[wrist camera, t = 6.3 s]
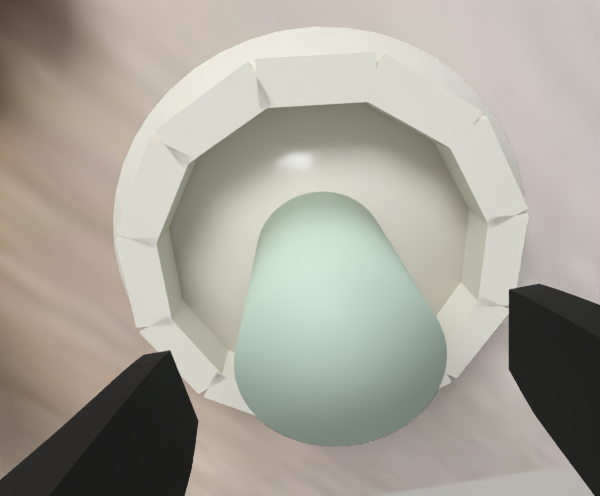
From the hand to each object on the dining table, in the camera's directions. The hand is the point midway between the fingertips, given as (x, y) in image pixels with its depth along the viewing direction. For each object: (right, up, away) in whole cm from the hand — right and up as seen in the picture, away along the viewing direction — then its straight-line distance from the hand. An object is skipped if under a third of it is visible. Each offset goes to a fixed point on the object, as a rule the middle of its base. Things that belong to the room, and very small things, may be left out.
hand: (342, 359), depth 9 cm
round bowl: (0, +2, +6) cm, 6 cm away
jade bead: (0, +2, +5) cm, 6 cm away
